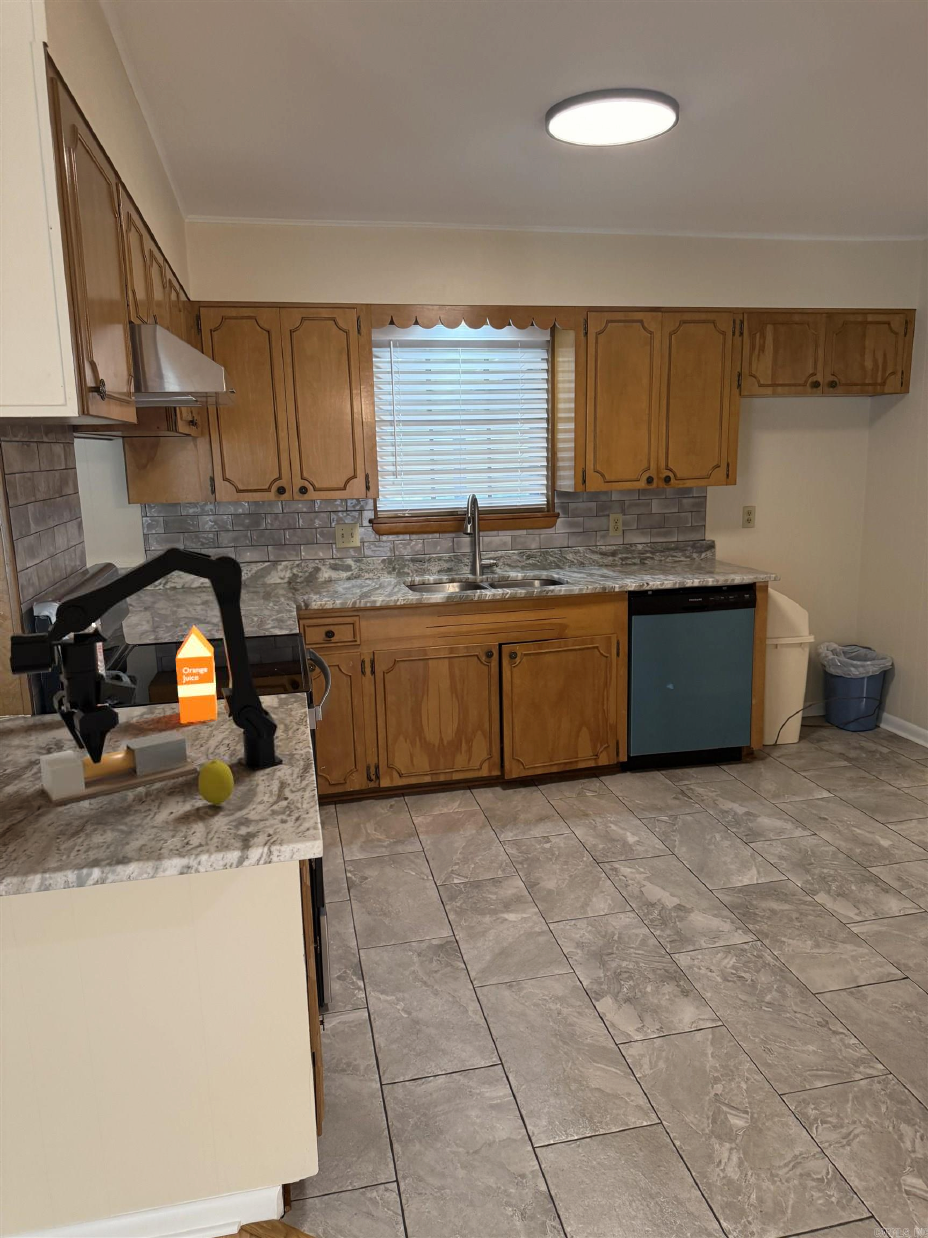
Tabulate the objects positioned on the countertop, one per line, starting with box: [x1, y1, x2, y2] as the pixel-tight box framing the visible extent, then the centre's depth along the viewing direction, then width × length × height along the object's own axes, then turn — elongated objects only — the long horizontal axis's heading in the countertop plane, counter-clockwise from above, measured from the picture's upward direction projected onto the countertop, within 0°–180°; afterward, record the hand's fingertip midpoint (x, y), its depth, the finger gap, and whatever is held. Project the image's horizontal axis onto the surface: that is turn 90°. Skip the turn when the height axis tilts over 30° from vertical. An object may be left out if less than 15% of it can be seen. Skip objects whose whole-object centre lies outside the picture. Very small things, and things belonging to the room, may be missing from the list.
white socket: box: [39, 749, 86, 800], centre depth 143 cm, size 8×5×5 cm, turn 38°
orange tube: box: [80, 749, 136, 780], centre depth 147 cm, size 4×13×4 cm, turn 128°
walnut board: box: [41, 760, 198, 807], centre depth 149 cm, size 10×24×1 cm, turn 128°
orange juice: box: [175, 625, 218, 724], centre depth 184 cm, size 8×9×20 cm
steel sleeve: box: [124, 730, 188, 778], centre depth 152 cm, size 6×9×5 cm, turn 128°
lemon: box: [197, 759, 235, 807], centre depth 137 cm, size 6×6×8 cm
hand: (89, 755), depth 145 cm, fingers open, 9 cm apart
